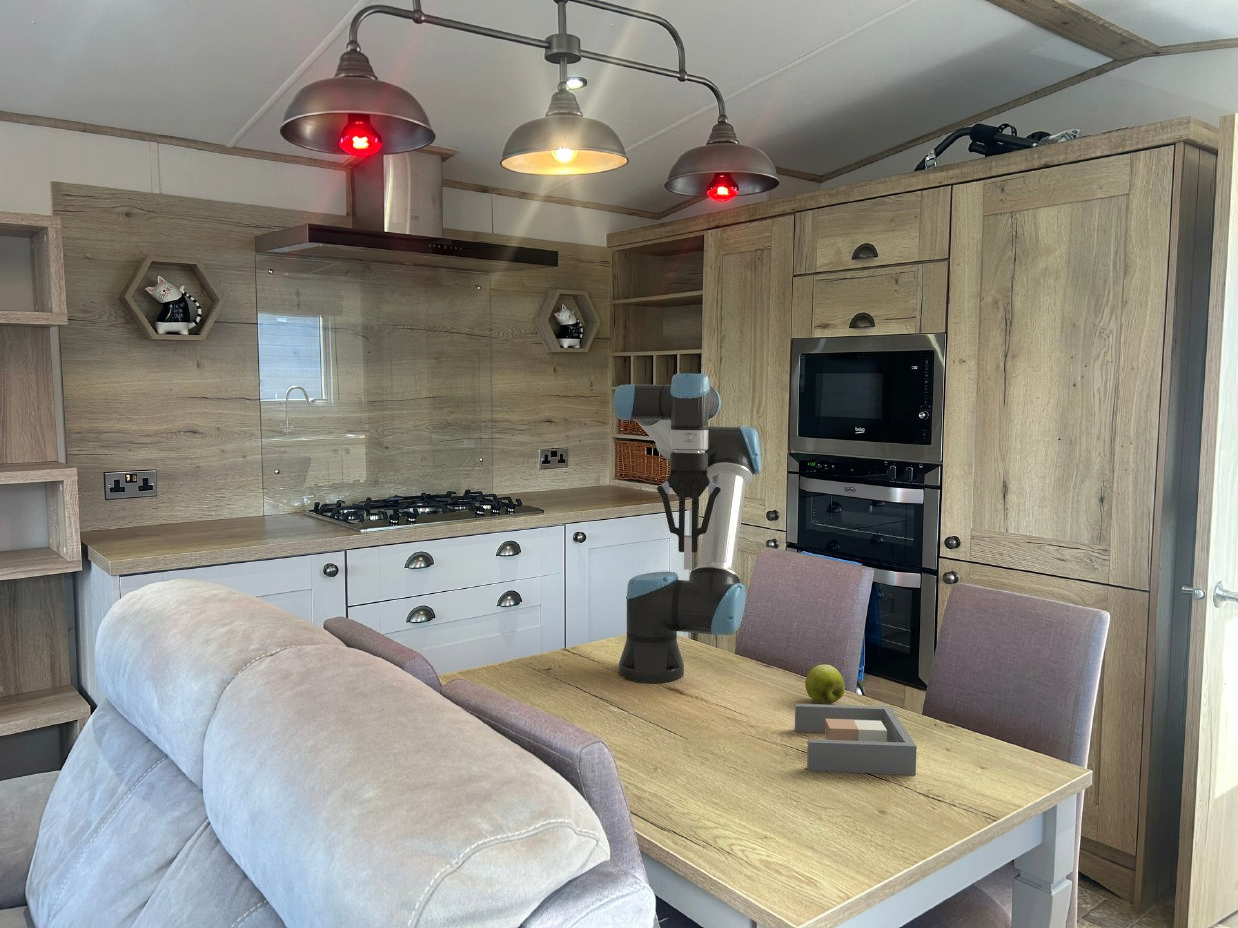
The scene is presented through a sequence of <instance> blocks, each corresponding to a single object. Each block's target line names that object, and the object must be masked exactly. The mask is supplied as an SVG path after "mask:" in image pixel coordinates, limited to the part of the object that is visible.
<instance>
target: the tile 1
mask: <svg viewBox="0 0 1238 928" xmlns="http://www.w3.org/2000/svg"><path fill="white" fill-rule="evenodd" d="M824 740H846V741H858V728H857V726H856V724H855V722H854V720H853V719H825V733H824Z"/></svg>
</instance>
